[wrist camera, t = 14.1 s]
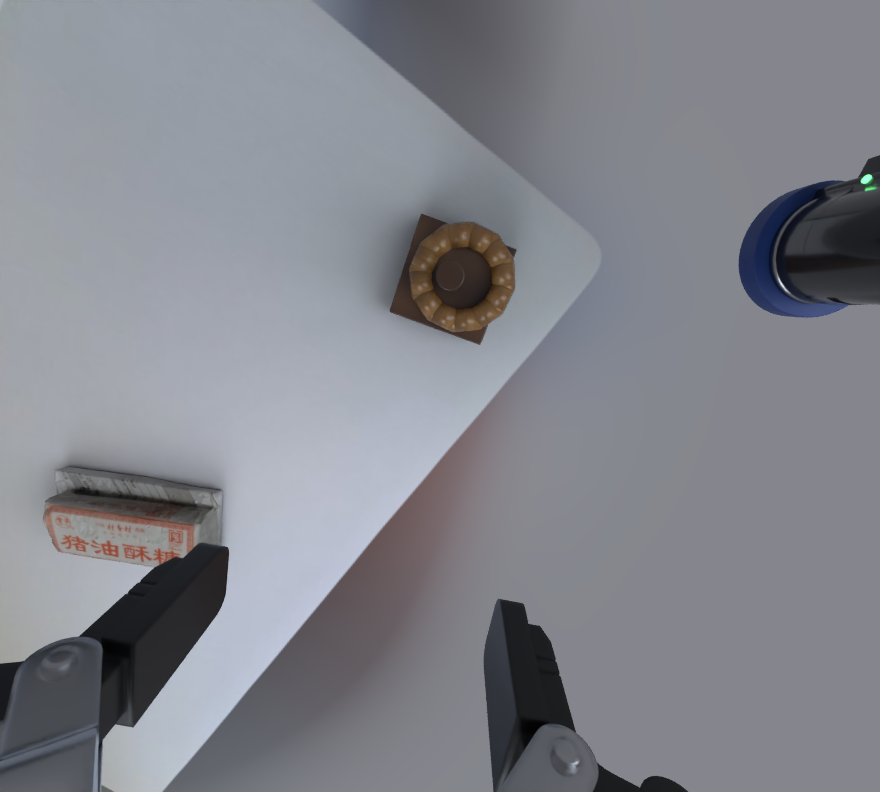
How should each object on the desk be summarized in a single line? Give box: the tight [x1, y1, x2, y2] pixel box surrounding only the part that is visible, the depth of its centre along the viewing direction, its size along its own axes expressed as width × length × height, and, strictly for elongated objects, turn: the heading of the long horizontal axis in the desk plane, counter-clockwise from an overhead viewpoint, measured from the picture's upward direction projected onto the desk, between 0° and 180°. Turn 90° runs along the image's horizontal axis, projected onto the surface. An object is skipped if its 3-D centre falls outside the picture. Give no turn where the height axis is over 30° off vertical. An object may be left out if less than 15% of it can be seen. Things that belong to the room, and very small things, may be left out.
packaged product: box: [43, 467, 222, 567], centre depth 46 cm, size 18×5×10 cm
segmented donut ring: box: [409, 222, 515, 332], centre depth 37 cm, size 9×9×2 cm
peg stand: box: [390, 214, 516, 345], centre depth 34 cm, size 9×9×15 cm
